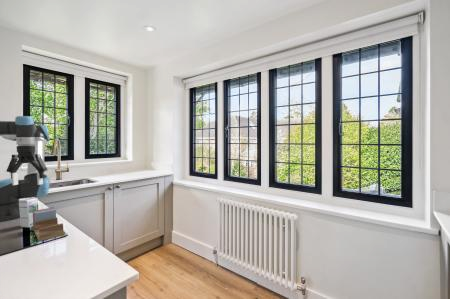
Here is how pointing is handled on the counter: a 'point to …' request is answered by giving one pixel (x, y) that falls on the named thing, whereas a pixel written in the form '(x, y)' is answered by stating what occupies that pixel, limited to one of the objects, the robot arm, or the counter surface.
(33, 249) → the counter surface
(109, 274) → the counter surface
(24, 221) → the syrup box
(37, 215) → the book rack
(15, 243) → the counter surface
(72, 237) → the counter surface
